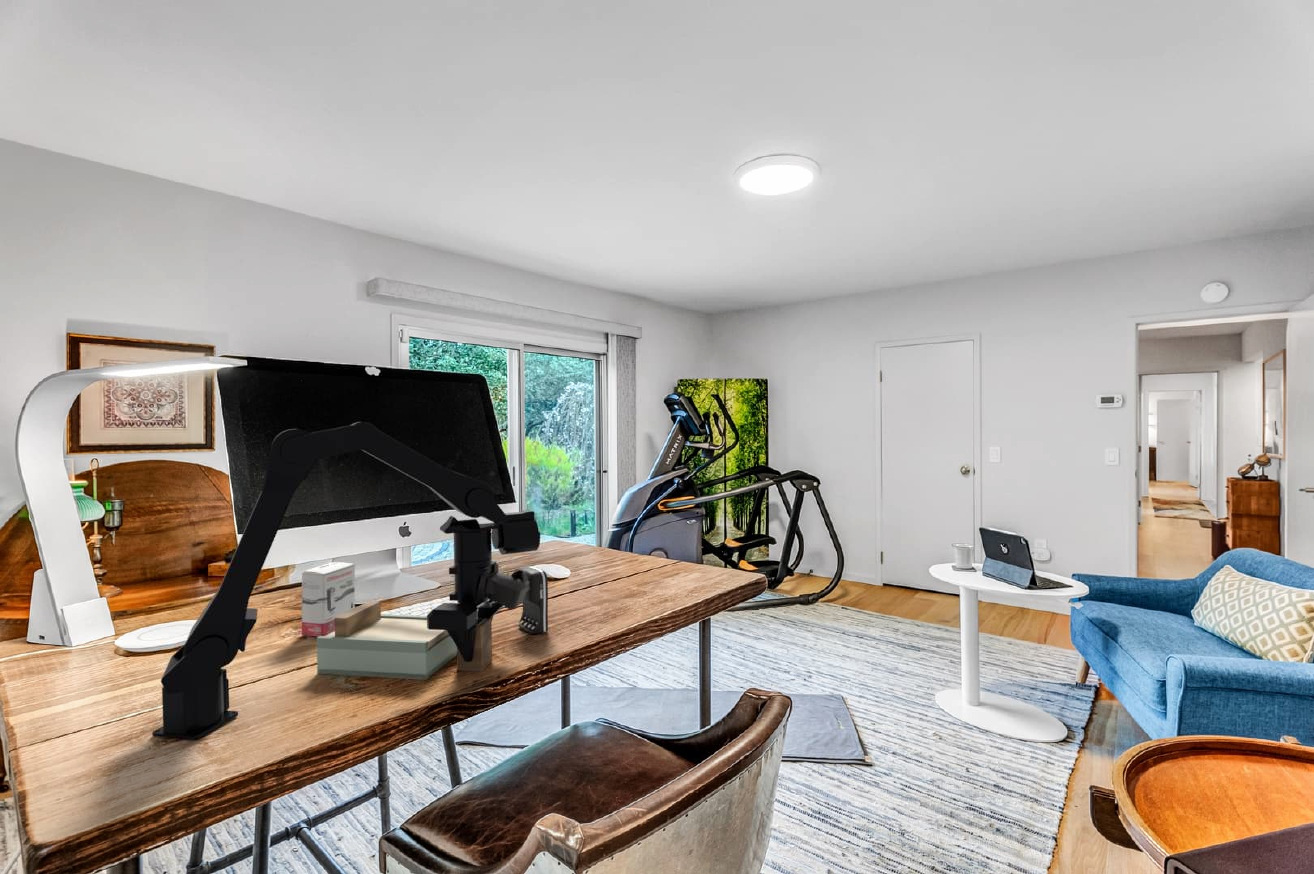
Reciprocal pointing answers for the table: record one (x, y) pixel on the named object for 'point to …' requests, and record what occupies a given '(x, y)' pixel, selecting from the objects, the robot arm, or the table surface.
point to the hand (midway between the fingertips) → (474, 655)
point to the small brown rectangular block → (479, 649)
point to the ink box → (326, 596)
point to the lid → (383, 626)
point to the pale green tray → (383, 655)
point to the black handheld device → (535, 602)
